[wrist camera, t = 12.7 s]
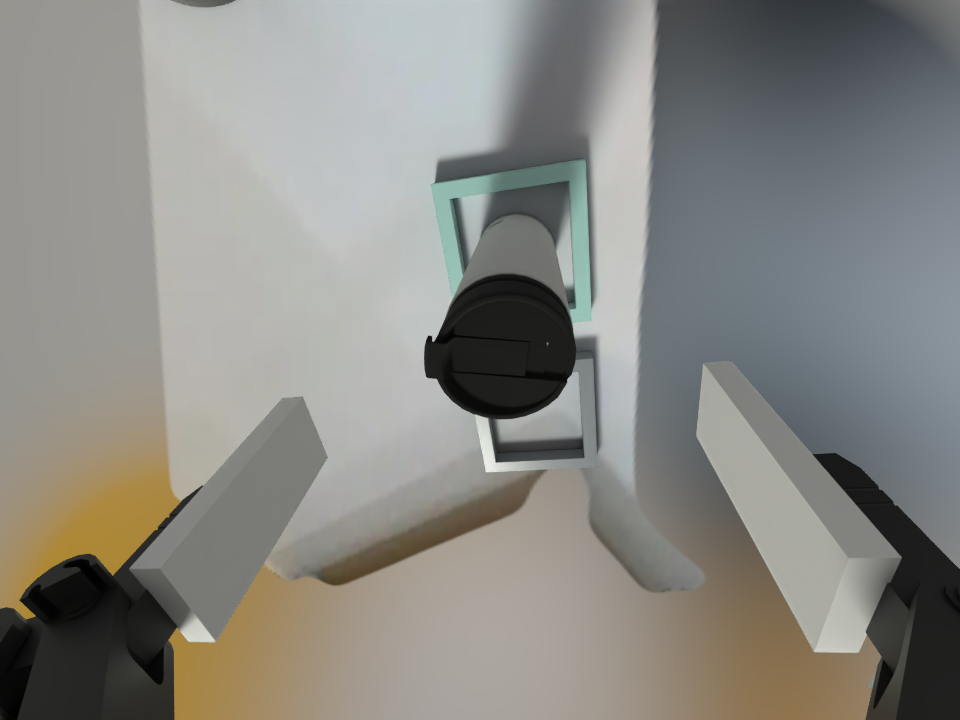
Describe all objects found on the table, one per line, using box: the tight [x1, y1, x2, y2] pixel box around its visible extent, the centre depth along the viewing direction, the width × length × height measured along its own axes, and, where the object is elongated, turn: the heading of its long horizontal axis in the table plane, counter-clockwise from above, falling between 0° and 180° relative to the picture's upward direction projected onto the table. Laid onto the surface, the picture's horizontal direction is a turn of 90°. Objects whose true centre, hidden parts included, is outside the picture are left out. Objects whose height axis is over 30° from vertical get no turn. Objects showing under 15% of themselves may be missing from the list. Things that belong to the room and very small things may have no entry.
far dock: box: [475, 351, 597, 472], centre depth 41 cm, size 16×11×2 cm
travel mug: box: [424, 213, 576, 419], centre depth 27 cm, size 6×7×20 cm
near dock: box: [431, 159, 592, 323], centre depth 35 cm, size 12×11×2 cm
